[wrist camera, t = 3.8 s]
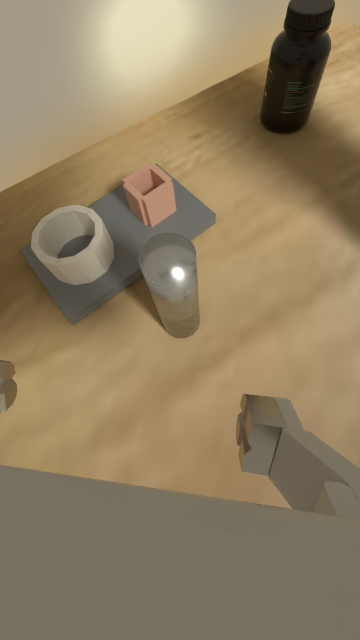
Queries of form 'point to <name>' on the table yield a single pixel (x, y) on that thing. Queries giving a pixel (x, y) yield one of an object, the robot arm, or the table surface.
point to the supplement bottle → (297, 65)
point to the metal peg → (172, 281)
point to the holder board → (123, 246)
